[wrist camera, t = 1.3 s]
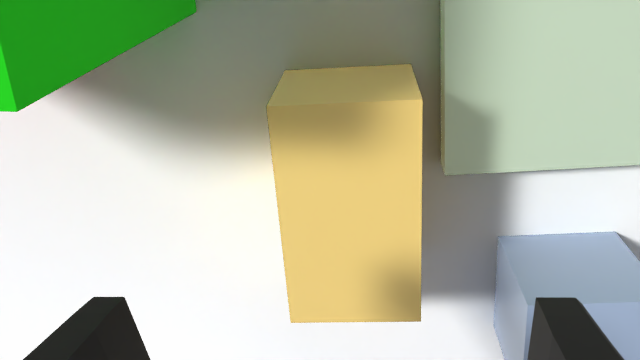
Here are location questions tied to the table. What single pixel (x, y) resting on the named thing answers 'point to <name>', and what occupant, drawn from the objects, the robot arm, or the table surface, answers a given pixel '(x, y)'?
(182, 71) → the table surface
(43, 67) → the puzzle toy
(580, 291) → the blue cube
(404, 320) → the ochre brick
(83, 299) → the table surface
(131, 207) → the table surface
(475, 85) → the baseplate
